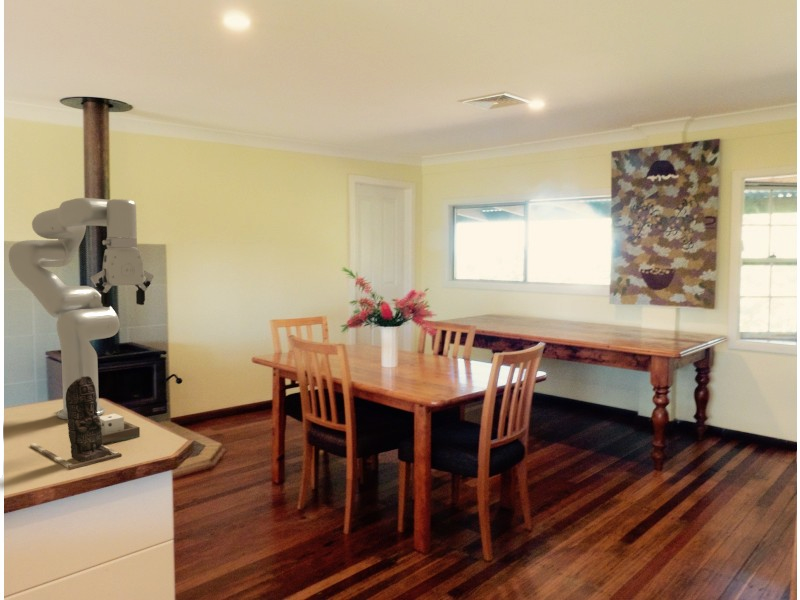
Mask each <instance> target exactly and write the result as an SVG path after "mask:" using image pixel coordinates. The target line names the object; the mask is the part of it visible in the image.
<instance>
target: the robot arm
mask: <svg viewBox="0 0 800 600" xmlns="http://www.w3.org/2000/svg"><path fill="white" fill-rule="evenodd" d="M87 226H91V227H92V226H93V227H96V226H97V227H99V226H100V227H106V239H104V240H102V245H103V246H106V249H105V250H104V253H103V260H102V269H101V271H99V272H97V273H95V274H93V275H91V276H90V280H91V282H92V284H93V285H94V287H91V286H89V285H75V286H72V285H66V284H65V283H64V282H63V281H62V280H61V279H60V278H59V276H57V275H56V274H55V273H53V272H51V271H50V270H48V269H46V268H59V267H60V268H61V267H65V266H68V265H69V264H70V263H71V262H72V261H73V259H74V257H75V255H76V253H77V251H78V248H79V247H80V245H81V243H82V241H83V239H84V236H85V234H86V229H87ZM31 227H32V230H33V231H34V233H35V234H36V235H37V236H39V237H41V238H44V239H27V240H21V241H18V242H16V243H14V244H13V245H11V247H9V250H8V263H9V266H10V269H11V272H12V273H13V275H14V276H15V277H16V279H17V280H18V281H19V282H20V283H21V284H22V285H24V286H25V287H26V289H28V290H29V291H30V292H31V293H32V294H33V296H34V297H35V299H37V301H38V302H39V303H40V305H41V306H42V307H43V308H44V309H45V311H46V312H47V313H48V314H49V315H50V316H51V317H53V318H56V319H57V321H56V331H57V336H58V340H59V344H60V345H59V346H60V355H61V373H62V376H61V379H62V405H63V406H62V409H60V410H58V412H57V417H58V419H59V418H60V419H63V420H68V416H67V414H68V413H67V408H66V392H67V389H68V387H69V386H70V385H71V384H72V383H73V382H74V381H75V380H77V379H78V378H80V377H82V376H84V377H86V376H89V377H91V379H92V382H93V383H94V386H95V390H96V396H97V398H96V401H97V415H98V416H99V417H100V416H102V414H104V413H105V407H104V406H102V405H100V404H99V400H100V399H99V368H98V364H99V363H98V362H99V361H98V353H97V351H96V350H95V348H94V347H93V346H92V344H91V342H90V341H95V340H102V339H107V338H111V337H114V336H115V335H116V334H117V333H118V332H119V331H120V327H121V325H120V324H121V323H120V318H119V316H118V314H117V312H116V311H115V310H114V309H113V306H111V293H110V292H109V291H110V289H111V288H112V287H113V286H117V287H118V286H121V287H122V286H134V287H136V288H137V290H136V291H135V296H136V299H135V301H136V305H140V306H144V305H145V301H146V291H147V290H148V288H149V286H150V285H151V284H152V281H153V278H154V275H153V274H151V273H150V272H148V271H146V270H145V269H144V268H145V267H144V262H143V261H144V260H143V256H142V252H141V250H140V249H138V239H137V237H138V236H137V235H138V232H137V230H138V229H137V228H138V227H137V205H136V203H135V201H134V200H130V199H123V198H122V199H120V198H119V199H118V198H116V199H114V198H113V199H105V198H104V199H103V198H95V197H93V198H90V197H78V198H73V199H70V200H65V201H63V202H61V203H60V205H59V207H57V208H52V209H49V210H43V211H42V212H40V213H38V214H36V215H35V216H34V218H33V219H32V222H31ZM101 278H102V283H100V279H101ZM95 288H96V289H95Z"/></svg>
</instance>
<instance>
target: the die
mask: <svg viewBox="0 0 800 600" xmlns="http://www.w3.org/2000/svg"><path fill="white" fill-rule="evenodd" d="M99 417H100V422H101V424H102V426H101V432H102V434H107V433H111V432H116V431H120V430H124V421H125V417H124V416H122V415H120V414H118V413H111V414H104V415H99Z"/></svg>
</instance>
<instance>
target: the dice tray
mask: <svg viewBox="0 0 800 600" xmlns="http://www.w3.org/2000/svg"><path fill="white" fill-rule="evenodd" d="M140 431H141V430H140V426H137V425H134V424H133V423H131V422H128V421H125V420H124V430H120V431H116V432H111V433H107V434H102V436H103V439H102V445H104V446H107V445H110V444H114V443H117V442H118V443H119V442H122V441H126V440H130V439H135V438H138V437H139V438H140V436H141V434H140Z"/></svg>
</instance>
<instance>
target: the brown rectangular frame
mask: <svg viewBox="0 0 800 600" xmlns="http://www.w3.org/2000/svg"><path fill="white" fill-rule="evenodd" d="M29 444H30V447H32V448H33V449H35V450H37V451H38V452H40V453H41V454H44V455H45V456H47V457H49V458H50V459H52V460H54V461H55V462H57V463H59V464H60V465H62V466H64V467H65V468H67V469H69V470H73V469H77V468H81V467H85V466H91V465H93V464H97V463H101V462H105V461H109V460H112V459H116V458H120V457H122V456H123V455H122V453H121V452H119V451H116V450H114V449H113V448H110V447H108V446H107V445H101V446H104V447H106V448H108V449H109V454H110V455H105V456H102V457H100V458H97V459H94V460H90V461H85V462H84V461H81V462H78V463H74V464H73V463H72V462H69V461H67V460H66V459H64V458H62V457H60V456H59V455H57V454H56V453H53V452H51V451H50V450H49V449H47V448H45V447H43V446H41V445H39V444H38V443H36V442H31V443H29Z"/></svg>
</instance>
